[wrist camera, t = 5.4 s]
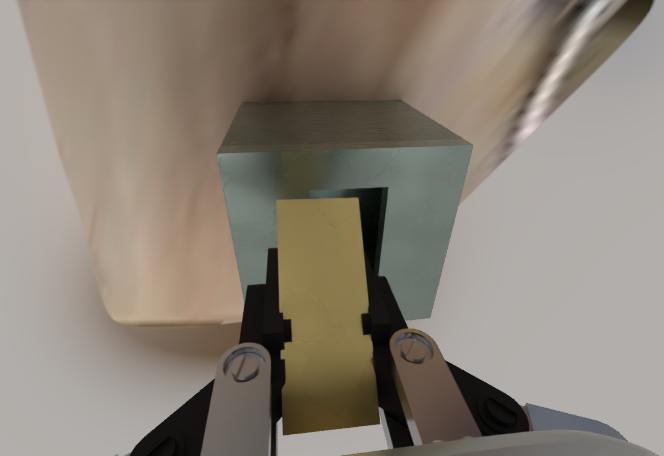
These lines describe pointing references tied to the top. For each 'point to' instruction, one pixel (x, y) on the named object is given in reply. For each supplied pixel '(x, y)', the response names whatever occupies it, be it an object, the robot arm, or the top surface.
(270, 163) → the coin box
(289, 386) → the wooden block
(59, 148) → the top surface
